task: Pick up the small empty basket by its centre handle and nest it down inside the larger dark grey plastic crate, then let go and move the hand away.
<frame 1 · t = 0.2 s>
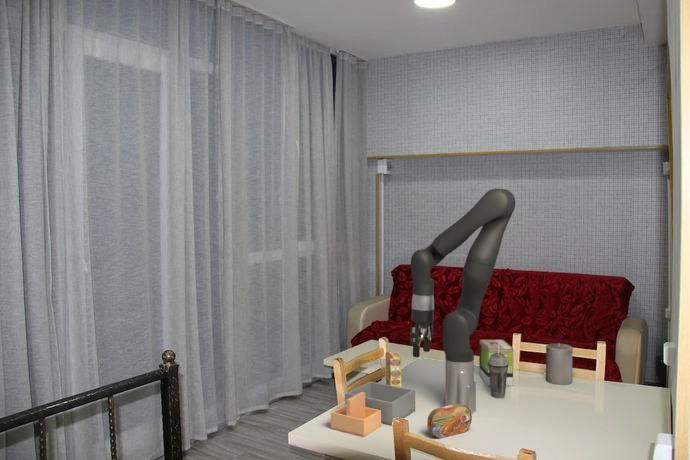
hand: (421, 354, 195), 17 cm above the table, tool pointing down, fingers open, 8 cm apart
large crate: (380, 412, 187), on the table
candy box: (393, 397, 203), on the table
tin: (449, 434, 169), on the table
beverage cup: (498, 396, 203), on the table
tea box: (495, 381, 222), on the table
pillar candle: (559, 381, 220), on the table
small basket: (356, 427, 175), on the table
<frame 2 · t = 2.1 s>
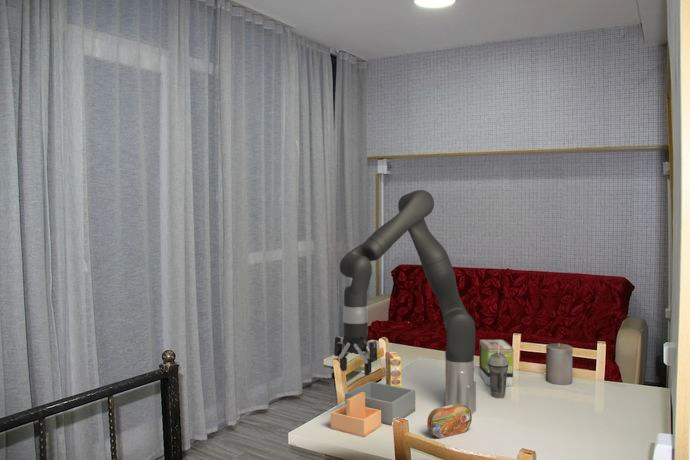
hand: (355, 372, 174), 17 cm above the table, tool pointing down, fingers open, 8 cm apart
nothing on the table moved.
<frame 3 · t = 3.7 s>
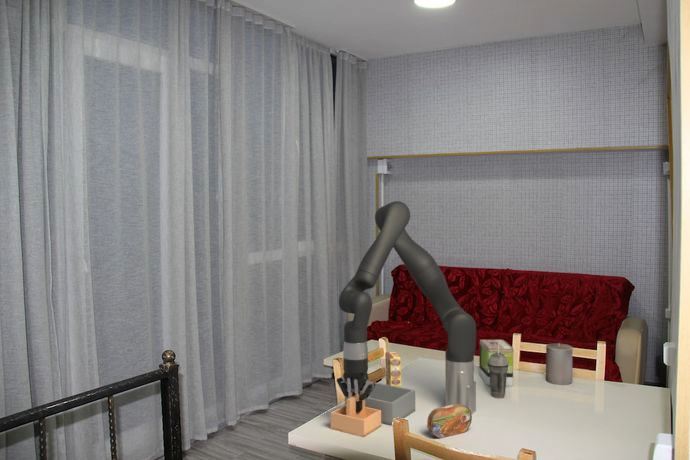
hand: (355, 411, 175), 5 cm above the table, tool pointing down, fingers closed on small basket
small basket: (356, 427, 175), on the table, touching gripper
everything else where it was.
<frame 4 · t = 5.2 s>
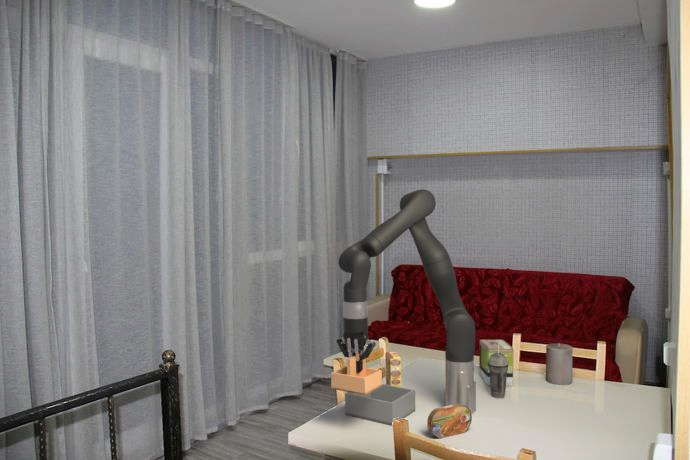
hand: (356, 371, 174), 17 cm above the table, tool pointing down, fingers closed on small basket
small basket: (356, 387, 174), point 12 cm above the table, touching gripper
everything else where it was.
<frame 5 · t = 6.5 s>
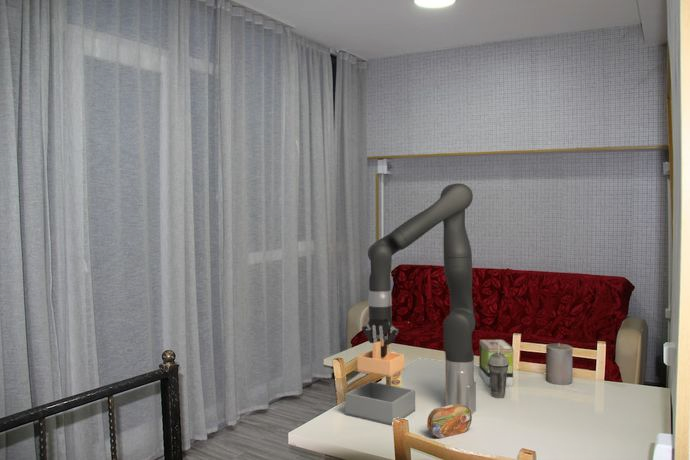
hand: (380, 356, 186), 19 cm above the table, tool pointing down, fingers closed on small basket
small basket: (381, 370, 187), point 14 cm above the table, touching gripper
everything else where it was.
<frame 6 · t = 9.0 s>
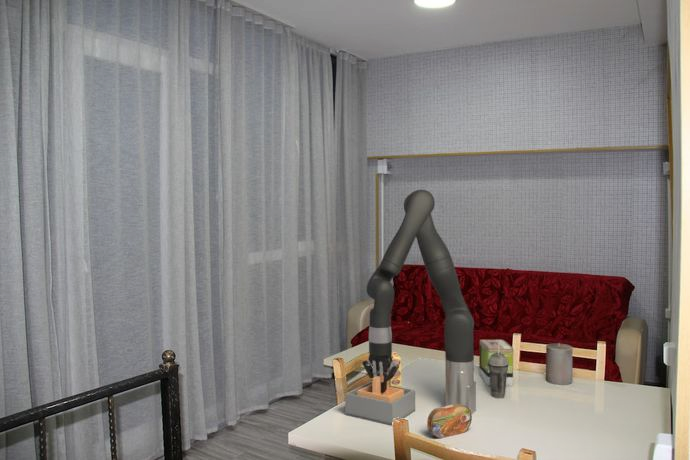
hand: (380, 391, 187), 7 cm above the table, tool pointing down, fingers closed on small basket
small basket: (380, 405, 187), point 3 cm above the table, touching gripper
everything else where it was.
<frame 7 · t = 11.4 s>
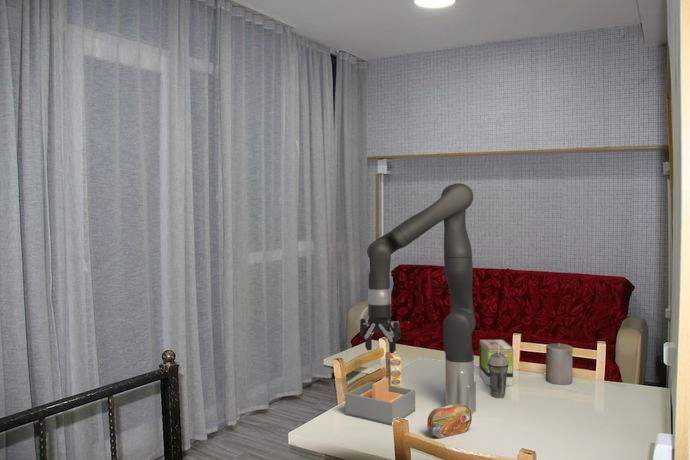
hand: (380, 351, 186), 20 cm above the table, tool pointing down, fingers open, 8 cm apart
small basket: (380, 410, 187), point 1 cm above the table, touching large crate
everything else where it was.
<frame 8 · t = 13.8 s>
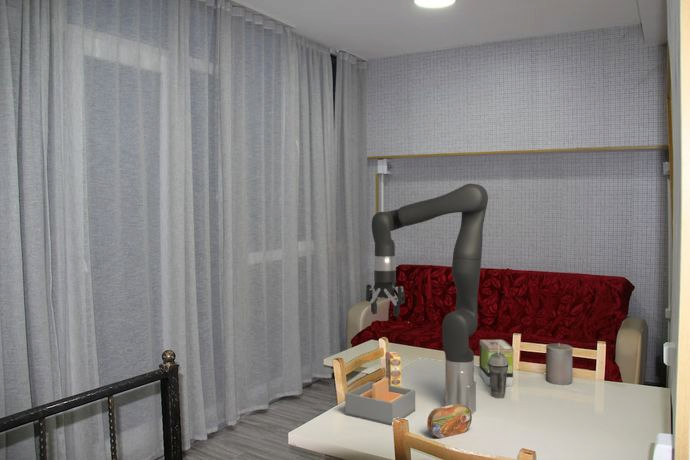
hand: (385, 314, 199), 30 cm above the table, tool pointing down, fingers open, 8 cm apart
nothing on the table moved.
at the end: small basket 0.1 cm off-centre on the large crate, point 0.8 cm above the large crate's base; small basket tilted 0°; the gripper is holding nothing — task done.
